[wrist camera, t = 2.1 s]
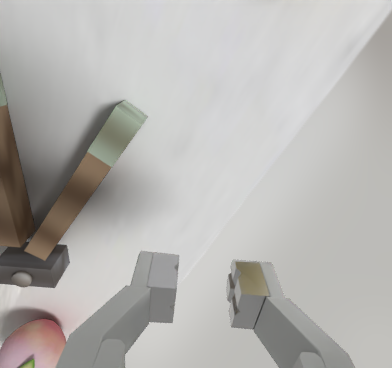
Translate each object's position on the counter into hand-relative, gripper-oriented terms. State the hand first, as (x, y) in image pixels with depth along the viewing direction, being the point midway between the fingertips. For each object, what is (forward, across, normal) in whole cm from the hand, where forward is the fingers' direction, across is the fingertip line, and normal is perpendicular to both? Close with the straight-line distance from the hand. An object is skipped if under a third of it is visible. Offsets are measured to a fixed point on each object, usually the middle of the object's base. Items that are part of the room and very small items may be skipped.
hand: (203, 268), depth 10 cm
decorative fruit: (+17, +19, +32) cm, 41 cm away
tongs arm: (+17, +11, +6) cm, 21 cm away
